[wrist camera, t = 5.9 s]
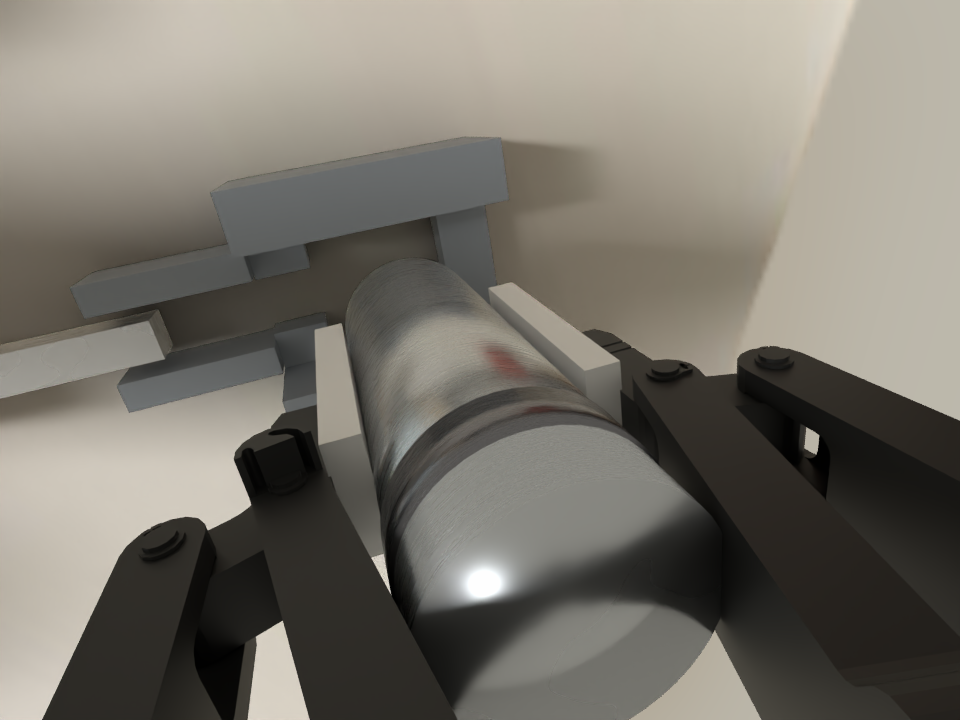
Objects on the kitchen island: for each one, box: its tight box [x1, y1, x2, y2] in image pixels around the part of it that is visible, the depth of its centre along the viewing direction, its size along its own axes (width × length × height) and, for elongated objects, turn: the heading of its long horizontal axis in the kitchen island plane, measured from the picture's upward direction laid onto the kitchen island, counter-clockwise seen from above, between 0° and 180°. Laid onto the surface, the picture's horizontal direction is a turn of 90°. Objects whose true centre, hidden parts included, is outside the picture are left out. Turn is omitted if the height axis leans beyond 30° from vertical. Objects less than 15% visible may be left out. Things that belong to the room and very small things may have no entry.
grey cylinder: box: [345, 258, 722, 720], centre depth 13 cm, size 4×4×13 cm
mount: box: [70, 137, 509, 413], centre depth 23 cm, size 16×10×5 cm, turn 99°
